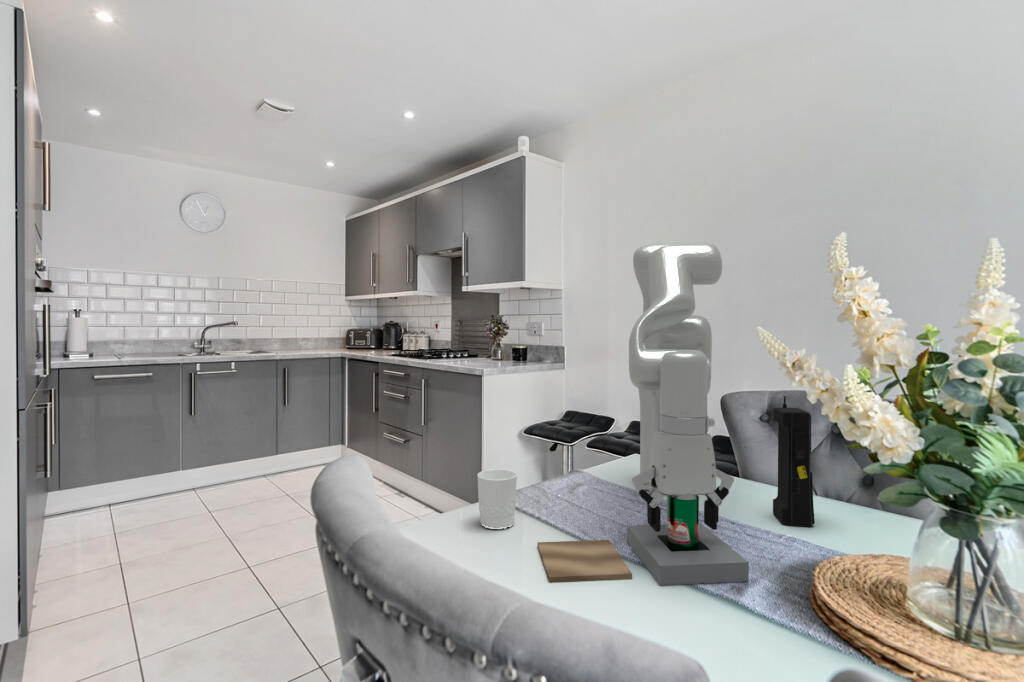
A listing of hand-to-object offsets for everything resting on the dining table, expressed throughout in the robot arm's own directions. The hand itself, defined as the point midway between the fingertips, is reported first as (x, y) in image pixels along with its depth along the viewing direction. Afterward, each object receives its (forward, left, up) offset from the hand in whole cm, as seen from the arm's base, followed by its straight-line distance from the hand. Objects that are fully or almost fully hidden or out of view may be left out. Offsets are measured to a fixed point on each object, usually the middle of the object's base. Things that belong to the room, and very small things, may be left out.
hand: (682, 527), depth 85 cm
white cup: (-19, -30, -6) cm, 36 cm away
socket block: (0, 0, -6) cm, 6 cm away
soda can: (0, 0, -6) cm, 6 cm away
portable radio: (-15, +30, -6) cm, 34 cm away
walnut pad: (-1, -17, -6) cm, 18 cm away
